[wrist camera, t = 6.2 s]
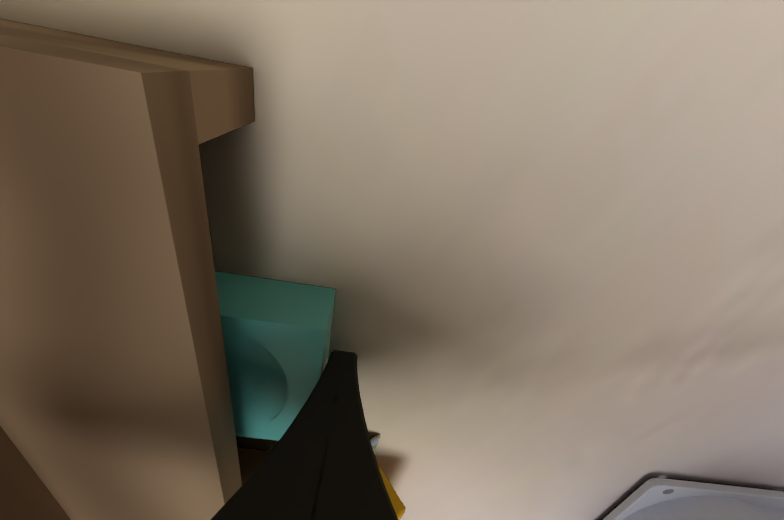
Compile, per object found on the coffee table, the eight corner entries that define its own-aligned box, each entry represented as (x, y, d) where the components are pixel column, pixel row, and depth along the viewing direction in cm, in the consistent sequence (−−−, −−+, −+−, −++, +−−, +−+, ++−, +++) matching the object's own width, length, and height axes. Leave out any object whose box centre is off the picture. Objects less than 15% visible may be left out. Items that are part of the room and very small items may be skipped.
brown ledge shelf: (252, 68, 8) (-23, 79, 3) (268, 463, 17) (213, 636, 12) (-44, 10, 7) (-1077, -110, 2) (137, 450, 17) (20, 625, 11)
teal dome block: (335, 288, 11) (324, 329, 10) (323, 398, 14) (314, 444, 13) (120, 257, 11) (67, 294, 9) (156, 378, 14) (122, 423, 12)
